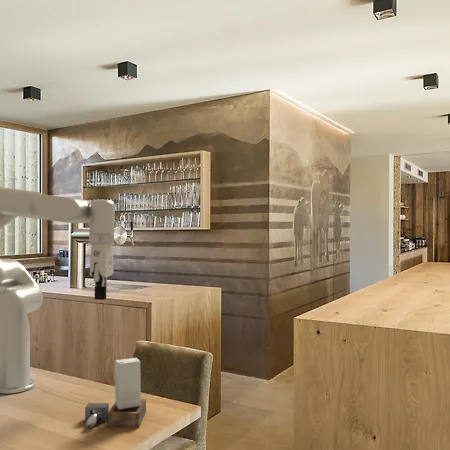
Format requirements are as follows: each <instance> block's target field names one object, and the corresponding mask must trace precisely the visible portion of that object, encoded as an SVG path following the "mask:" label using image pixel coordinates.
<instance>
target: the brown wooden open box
mask: <svg viewBox="0 0 450 450" xmlns="http://www.w3.org/2000/svg"><path fill="white" fill-rule="evenodd" d="M146 413H147V399H146V398H145V399H143V398H141V406H137V407H131V408H125V409H118V408H117V406H116V404H115V402H114V403H113V405H112V406H111V408H110V409H109V412H108V419H107V427H108V428H140V427H141V425H142V423H143V420H144V417H145V415H146Z"/></svg>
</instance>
